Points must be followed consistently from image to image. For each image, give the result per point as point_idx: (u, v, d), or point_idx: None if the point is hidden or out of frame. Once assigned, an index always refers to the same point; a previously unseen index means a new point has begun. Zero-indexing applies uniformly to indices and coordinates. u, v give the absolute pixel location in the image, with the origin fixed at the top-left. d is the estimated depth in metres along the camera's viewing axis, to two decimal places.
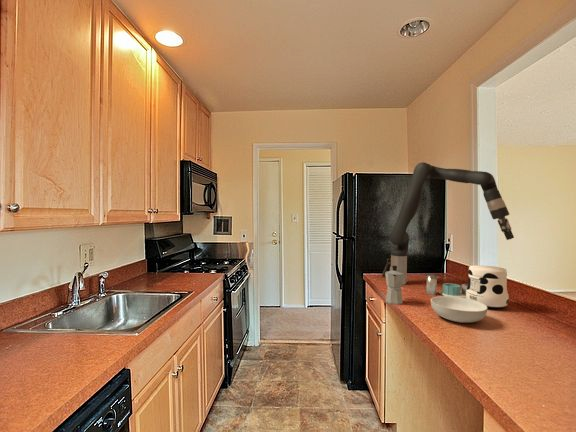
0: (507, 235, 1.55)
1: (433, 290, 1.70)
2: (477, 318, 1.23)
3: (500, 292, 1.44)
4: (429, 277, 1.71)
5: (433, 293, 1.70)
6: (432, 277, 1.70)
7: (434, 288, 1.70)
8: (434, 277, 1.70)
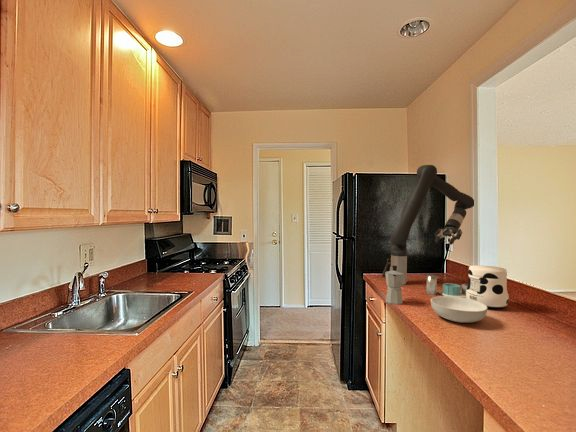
0: (453, 241, 1.79)
1: (433, 290, 1.70)
2: (477, 318, 1.23)
3: (500, 292, 1.44)
4: (429, 277, 1.71)
5: (433, 293, 1.70)
6: (432, 277, 1.70)
7: (434, 288, 1.70)
8: (434, 277, 1.70)
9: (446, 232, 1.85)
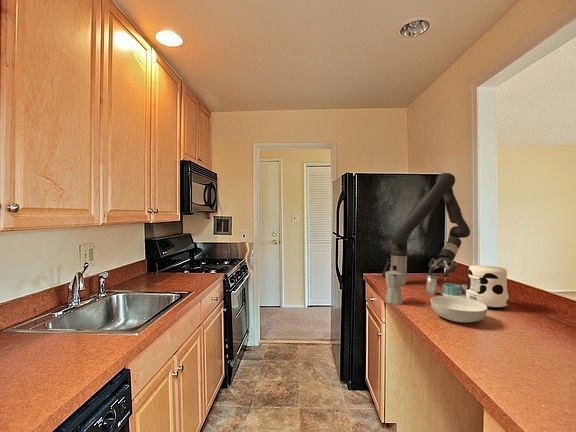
0: (447, 273, 1.71)
1: (433, 290, 1.70)
2: (477, 318, 1.23)
3: (500, 292, 1.44)
4: (429, 277, 1.71)
5: (433, 293, 1.70)
6: (432, 277, 1.70)
7: (434, 288, 1.70)
8: (434, 277, 1.70)
9: (440, 263, 1.78)
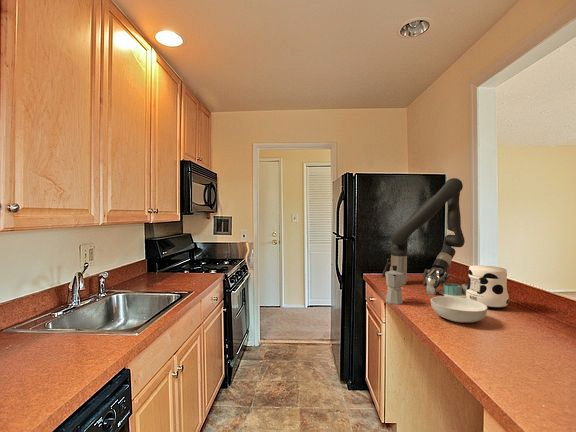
0: (437, 284, 1.69)
1: (433, 290, 1.70)
2: (477, 318, 1.23)
3: (500, 292, 1.44)
4: (429, 277, 1.71)
5: (433, 293, 1.70)
6: (432, 277, 1.70)
7: (434, 288, 1.70)
8: (434, 277, 1.70)
9: (435, 273, 1.74)
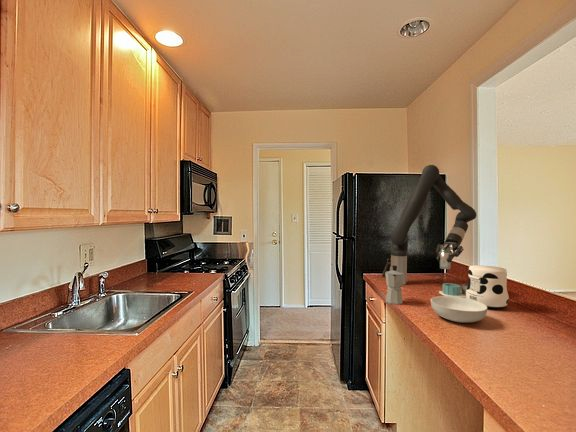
0: (451, 258, 1.66)
1: (447, 264, 1.67)
2: (477, 318, 1.23)
3: (499, 292, 1.44)
4: (442, 251, 1.68)
5: (447, 267, 1.67)
6: (446, 251, 1.67)
7: (448, 262, 1.67)
8: (448, 251, 1.67)
9: (448, 247, 1.72)
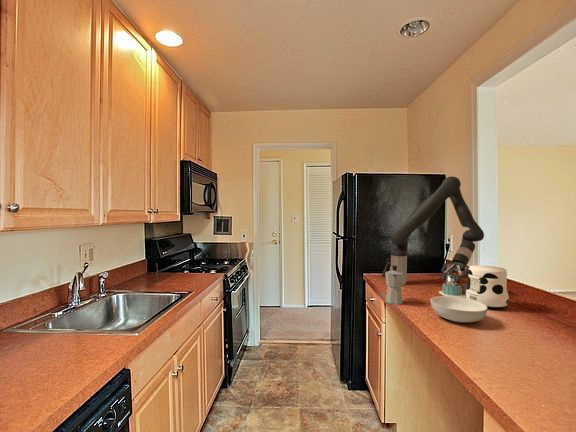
0: (460, 279, 1.65)
1: None
2: (477, 318, 1.23)
3: (499, 292, 1.44)
4: (449, 276, 1.67)
5: None
6: (452, 276, 1.67)
7: None
8: (454, 276, 1.67)
9: (454, 268, 1.71)
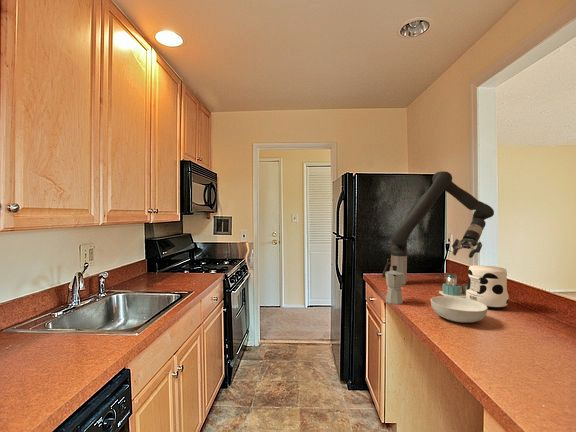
0: (473, 254, 1.71)
1: None
2: (477, 318, 1.23)
3: (500, 292, 1.44)
4: (449, 276, 1.68)
5: None
6: (452, 276, 1.67)
7: None
8: (454, 276, 1.67)
9: (465, 244, 1.77)
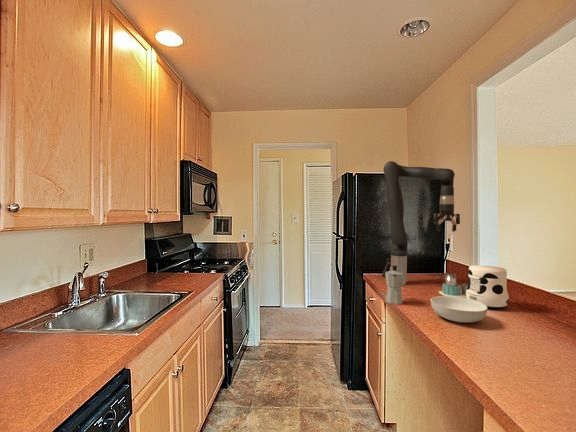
0: None
1: None
2: (477, 318, 1.23)
3: (500, 292, 1.44)
4: (449, 276, 1.68)
5: None
6: (452, 276, 1.67)
7: None
8: (454, 276, 1.67)
9: (446, 219, 1.84)
